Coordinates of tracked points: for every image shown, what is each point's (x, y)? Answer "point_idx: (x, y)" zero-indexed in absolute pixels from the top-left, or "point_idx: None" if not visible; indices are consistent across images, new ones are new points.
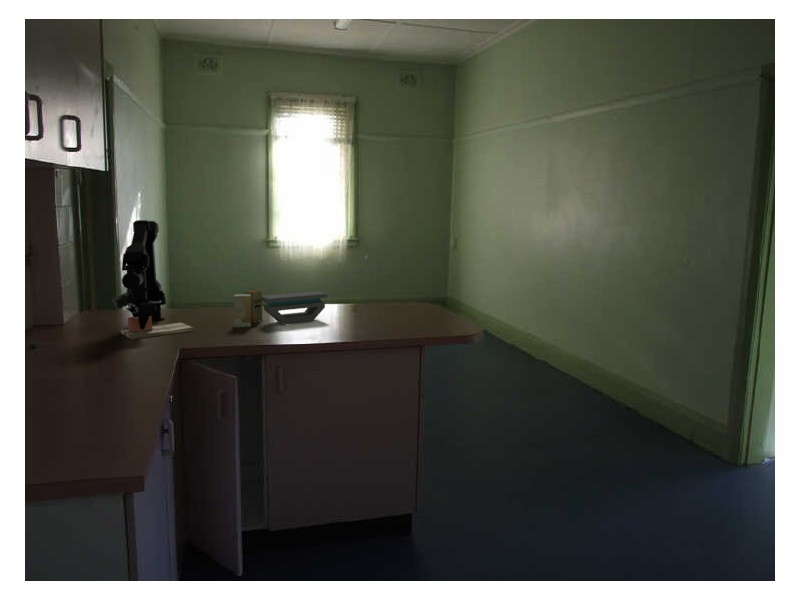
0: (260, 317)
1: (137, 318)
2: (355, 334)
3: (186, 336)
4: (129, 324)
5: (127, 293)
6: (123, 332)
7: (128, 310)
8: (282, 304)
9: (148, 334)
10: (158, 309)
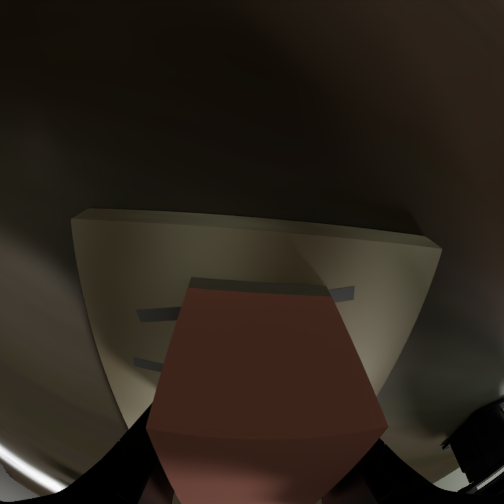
0: None
1: (184, 476)
2: (27, 478)
3: (60, 423)
4: (295, 347)
5: None
6: (363, 236)
7: (477, 498)
8: None
9: (104, 354)
10: (465, 469)
